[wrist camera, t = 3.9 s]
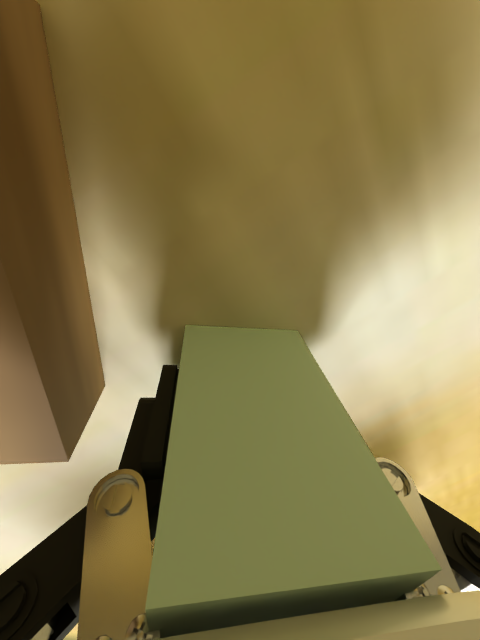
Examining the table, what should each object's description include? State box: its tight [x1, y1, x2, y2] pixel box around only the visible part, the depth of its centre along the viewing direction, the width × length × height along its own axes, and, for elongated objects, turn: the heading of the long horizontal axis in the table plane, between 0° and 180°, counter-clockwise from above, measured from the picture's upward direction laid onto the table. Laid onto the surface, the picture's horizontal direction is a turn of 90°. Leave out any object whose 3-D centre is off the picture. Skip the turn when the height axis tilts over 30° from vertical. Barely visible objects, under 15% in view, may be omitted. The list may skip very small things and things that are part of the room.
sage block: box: [145, 325, 442, 638], centre depth 9 cm, size 5×5×8 cm
